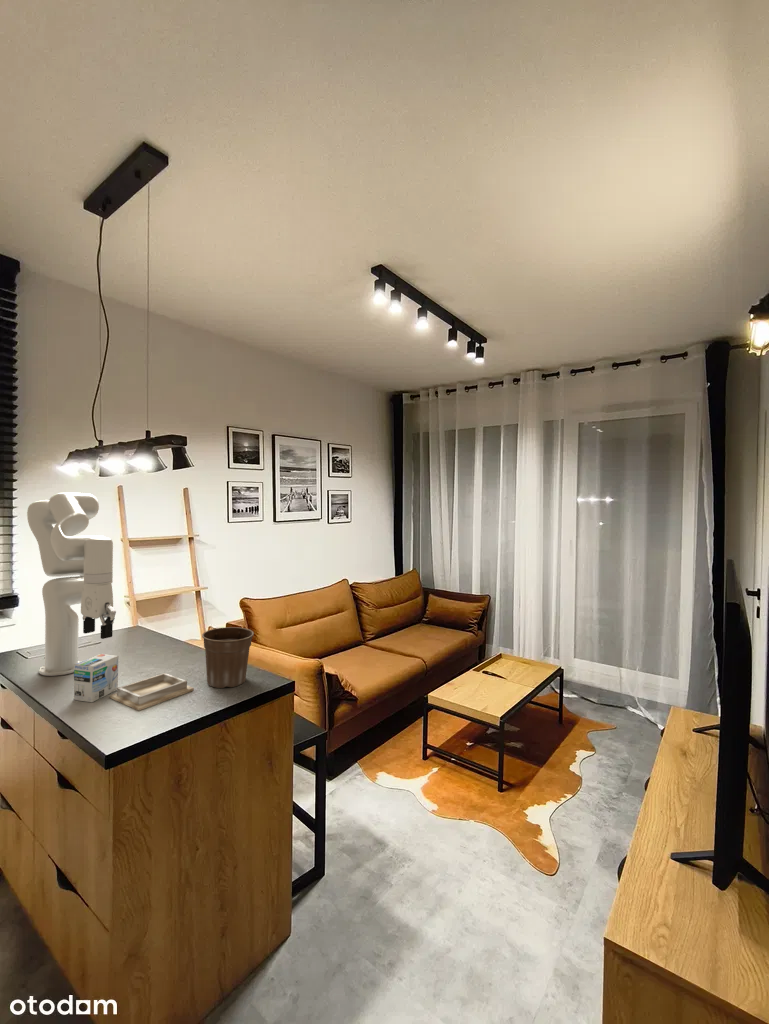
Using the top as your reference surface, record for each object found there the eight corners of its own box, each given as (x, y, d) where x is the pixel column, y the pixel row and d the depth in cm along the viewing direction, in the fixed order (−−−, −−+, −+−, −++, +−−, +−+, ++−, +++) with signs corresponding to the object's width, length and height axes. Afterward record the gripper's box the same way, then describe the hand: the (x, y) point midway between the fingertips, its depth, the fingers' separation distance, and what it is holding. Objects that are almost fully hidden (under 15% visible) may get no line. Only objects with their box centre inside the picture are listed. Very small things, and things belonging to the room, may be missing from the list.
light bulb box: (92, 703, 142) (92, 666, 141) (72, 700, 143) (72, 664, 143) (119, 689, 152) (119, 655, 152) (100, 686, 153) (100, 653, 153)
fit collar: (109, 697, 145) (109, 687, 145) (164, 679, 161) (164, 670, 161) (138, 710, 137) (139, 700, 137) (193, 690, 153) (193, 680, 153)
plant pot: (261, 676, 166) (263, 629, 166) (234, 694, 151) (235, 642, 150) (220, 670, 171) (221, 624, 170) (190, 687, 155) (191, 637, 155)
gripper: (70, 577, 148) (69, 633, 148) (101, 583, 139) (100, 642, 139) (95, 574, 154) (95, 628, 155) (126, 580, 145) (126, 637, 145)
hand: (97, 635), depth 147 cm, fingers open, 9 cm apart
